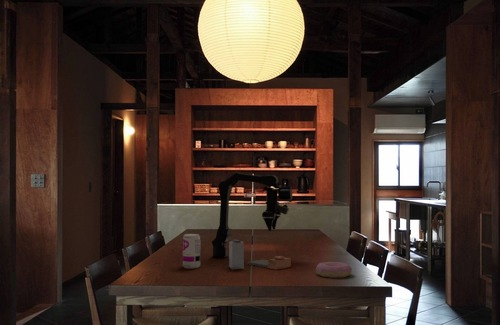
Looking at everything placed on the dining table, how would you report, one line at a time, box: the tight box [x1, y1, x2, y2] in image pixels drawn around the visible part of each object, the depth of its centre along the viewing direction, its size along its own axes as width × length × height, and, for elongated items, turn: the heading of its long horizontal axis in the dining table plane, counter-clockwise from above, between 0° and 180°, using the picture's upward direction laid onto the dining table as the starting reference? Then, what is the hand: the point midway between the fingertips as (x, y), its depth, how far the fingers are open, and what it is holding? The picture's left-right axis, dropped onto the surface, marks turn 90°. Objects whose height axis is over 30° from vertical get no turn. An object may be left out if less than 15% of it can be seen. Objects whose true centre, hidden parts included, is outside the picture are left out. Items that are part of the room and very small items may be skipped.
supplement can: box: [182, 233, 201, 269], centre depth 236 cm, size 8×8×15 cm
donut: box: [315, 261, 352, 279], centre depth 217 cm, size 16×15×5 cm
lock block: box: [228, 238, 245, 270], centre depth 233 cm, size 6×6×13 cm
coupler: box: [247, 255, 292, 271], centre depth 239 cm, size 19×10×5 cm, turn 43°
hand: (272, 230), depth 259 cm, fingers open, 9 cm apart
